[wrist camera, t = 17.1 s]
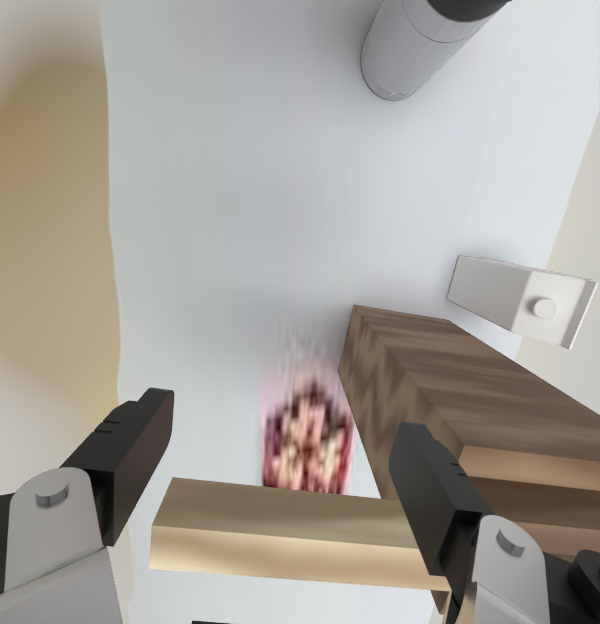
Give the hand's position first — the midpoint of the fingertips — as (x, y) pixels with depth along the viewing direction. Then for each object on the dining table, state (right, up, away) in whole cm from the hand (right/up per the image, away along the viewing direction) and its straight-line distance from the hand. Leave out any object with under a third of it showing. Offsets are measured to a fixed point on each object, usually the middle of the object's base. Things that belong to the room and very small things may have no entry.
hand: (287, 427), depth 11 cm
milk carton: (+28, +9, +38) cm, 48 cm away
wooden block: (+4, -9, +9) cm, 13 cm away
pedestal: (+16, -2, +41) cm, 44 cm away
